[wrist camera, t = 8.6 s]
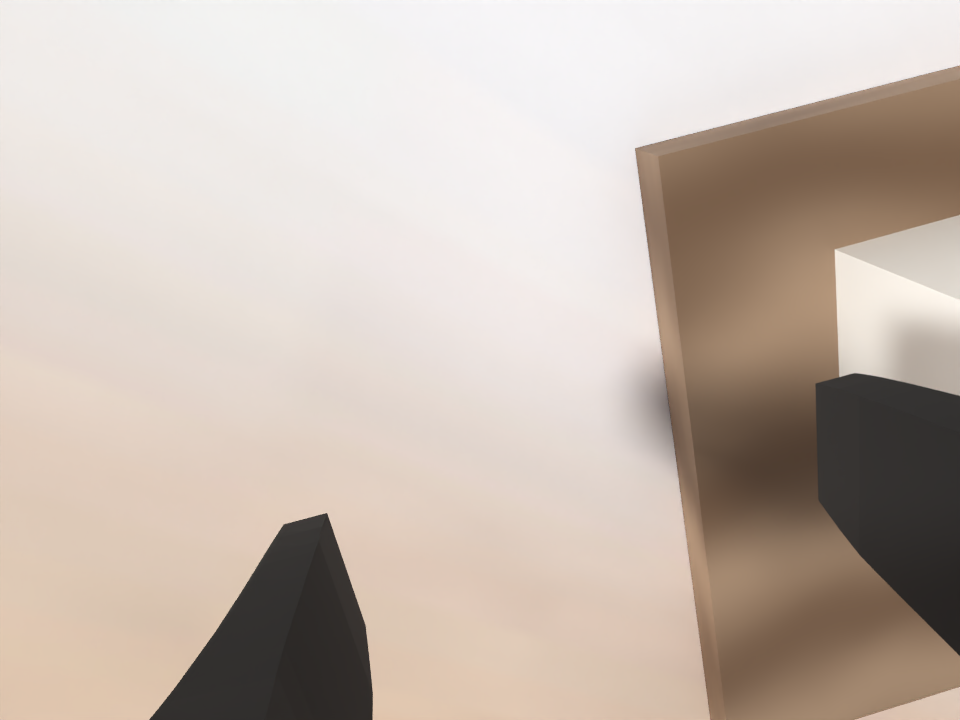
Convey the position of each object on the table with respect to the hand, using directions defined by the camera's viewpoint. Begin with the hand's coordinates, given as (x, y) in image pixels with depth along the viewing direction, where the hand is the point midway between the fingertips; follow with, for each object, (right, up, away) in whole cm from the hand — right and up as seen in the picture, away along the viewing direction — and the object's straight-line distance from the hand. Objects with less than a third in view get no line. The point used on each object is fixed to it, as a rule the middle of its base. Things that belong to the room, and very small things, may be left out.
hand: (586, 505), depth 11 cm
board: (+11, 0, +12) cm, 17 cm away
